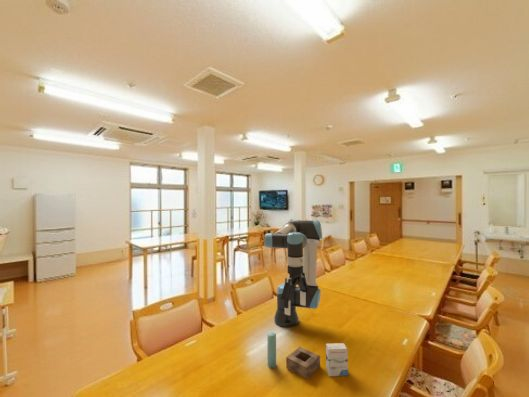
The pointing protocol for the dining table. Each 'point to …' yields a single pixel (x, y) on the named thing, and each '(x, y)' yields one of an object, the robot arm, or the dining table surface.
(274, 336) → the peg
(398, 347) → the dining table surface
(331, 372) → the ink box
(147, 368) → the dining table surface
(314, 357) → the socket block
